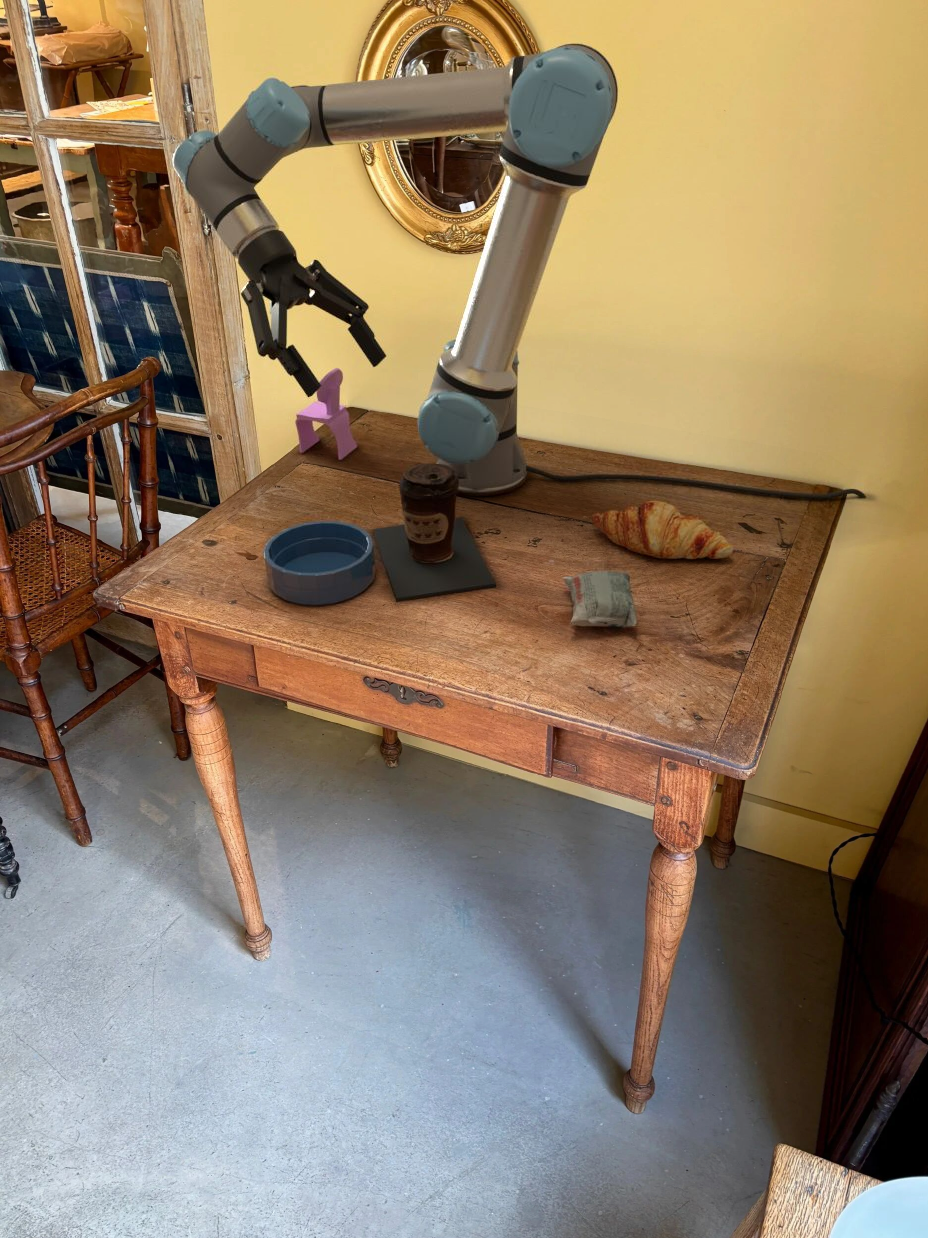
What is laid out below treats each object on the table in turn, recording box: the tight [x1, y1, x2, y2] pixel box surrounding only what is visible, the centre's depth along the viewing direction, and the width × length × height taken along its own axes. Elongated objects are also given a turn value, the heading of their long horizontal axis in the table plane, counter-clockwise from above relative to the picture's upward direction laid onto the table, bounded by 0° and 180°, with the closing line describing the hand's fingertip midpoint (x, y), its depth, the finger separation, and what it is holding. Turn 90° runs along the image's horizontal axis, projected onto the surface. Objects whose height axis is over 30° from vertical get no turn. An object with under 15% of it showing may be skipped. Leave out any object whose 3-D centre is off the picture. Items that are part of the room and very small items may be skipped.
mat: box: [372, 516, 497, 603], centre depth 136 cm, size 14×20×1 cm
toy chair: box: [295, 367, 358, 461], centre depth 164 cm, size 8×9×15 cm
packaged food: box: [562, 570, 638, 628], centre depth 122 cm, size 9×12×5 cm
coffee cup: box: [398, 462, 459, 563], centre depth 132 cm, size 9×8×13 cm
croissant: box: [591, 499, 734, 560], centre depth 136 cm, size 21×10×8 cm, turn 65°
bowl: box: [263, 520, 377, 606], centre depth 131 cm, size 15×15×5 cm
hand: (348, 376), depth 129 cm, fingers open, 13 cm apart
